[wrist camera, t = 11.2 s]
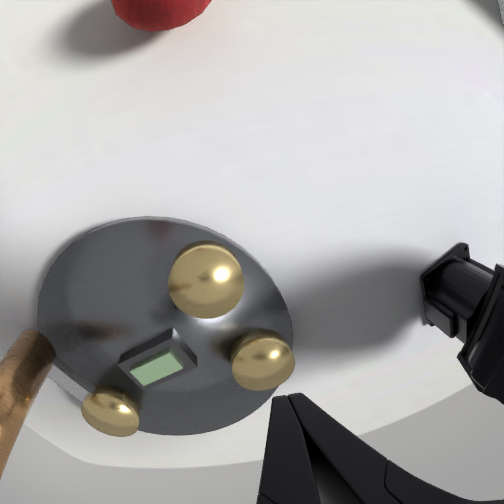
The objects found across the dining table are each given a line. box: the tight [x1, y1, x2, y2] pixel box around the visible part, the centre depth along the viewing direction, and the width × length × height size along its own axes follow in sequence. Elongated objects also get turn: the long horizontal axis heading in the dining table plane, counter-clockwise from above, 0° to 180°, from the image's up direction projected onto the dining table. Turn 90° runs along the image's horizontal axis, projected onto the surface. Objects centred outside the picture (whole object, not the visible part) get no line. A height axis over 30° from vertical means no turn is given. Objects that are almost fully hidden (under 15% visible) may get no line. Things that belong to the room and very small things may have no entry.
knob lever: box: [0, 330, 141, 479], centre depth 14 cm, size 12×5×13 cm, turn 41°
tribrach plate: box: [38, 216, 295, 436], centre depth 20 cm, size 20×20×3 cm
